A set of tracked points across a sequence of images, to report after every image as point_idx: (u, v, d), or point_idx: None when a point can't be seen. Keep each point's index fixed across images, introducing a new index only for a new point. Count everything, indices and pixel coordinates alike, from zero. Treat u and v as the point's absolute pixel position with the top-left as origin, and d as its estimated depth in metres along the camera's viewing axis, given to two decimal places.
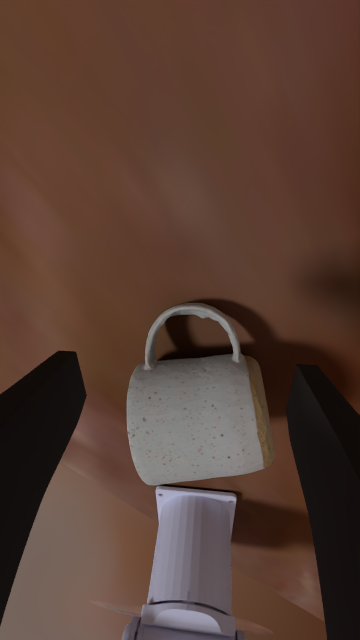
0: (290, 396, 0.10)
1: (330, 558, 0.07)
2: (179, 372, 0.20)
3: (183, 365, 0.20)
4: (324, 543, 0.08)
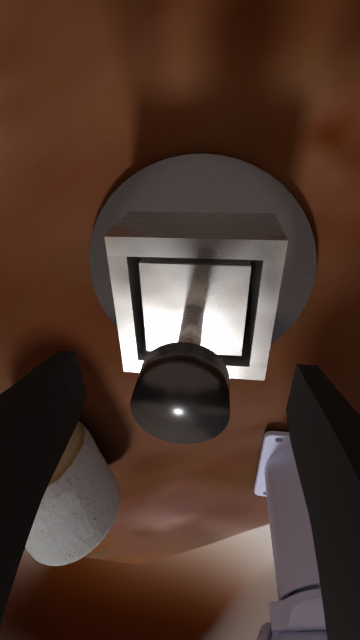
0: (290, 396, 0.10)
1: (330, 558, 0.07)
2: None
3: None
4: (324, 543, 0.08)
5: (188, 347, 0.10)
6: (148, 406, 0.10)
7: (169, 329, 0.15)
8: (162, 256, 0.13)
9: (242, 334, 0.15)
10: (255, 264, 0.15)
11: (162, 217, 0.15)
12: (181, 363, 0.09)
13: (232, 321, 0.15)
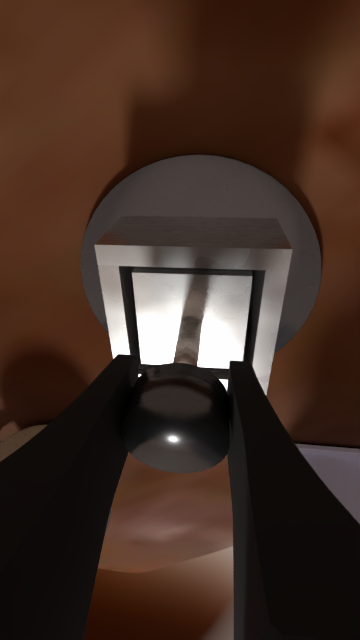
0: (227, 392, 0.11)
1: (237, 548, 0.07)
2: None
3: None
4: (236, 533, 0.08)
5: (184, 369, 0.09)
6: (139, 434, 0.09)
7: (165, 341, 0.14)
8: (157, 265, 0.12)
9: (243, 347, 0.14)
10: (256, 272, 0.14)
11: (157, 222, 0.14)
12: (176, 388, 0.08)
13: (232, 333, 0.14)
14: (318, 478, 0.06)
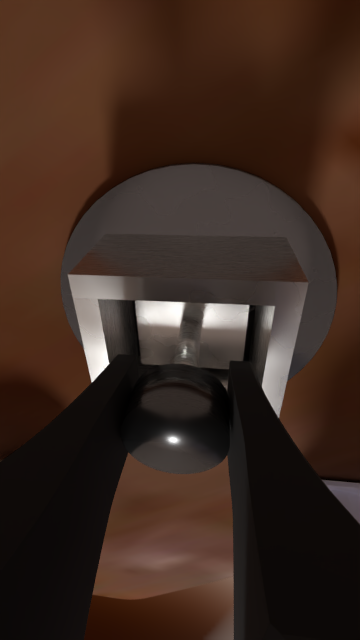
0: (227, 392, 0.11)
1: (237, 547, 0.07)
2: None
3: None
4: (235, 533, 0.08)
5: (184, 370, 0.09)
6: (140, 435, 0.09)
7: (165, 342, 0.14)
8: (143, 299, 0.10)
9: (243, 348, 0.14)
10: None
11: (146, 243, 0.12)
12: (176, 390, 0.08)
13: (232, 334, 0.14)
14: (318, 478, 0.06)
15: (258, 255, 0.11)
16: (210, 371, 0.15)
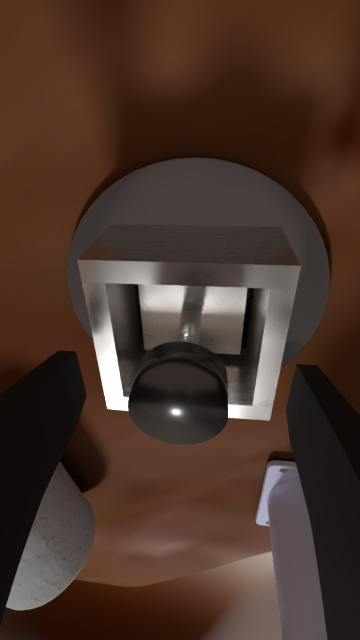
0: (290, 396, 0.10)
1: (330, 558, 0.07)
2: None
3: None
4: (324, 543, 0.08)
5: (186, 347, 0.10)
6: (145, 406, 0.10)
7: (167, 328, 0.15)
8: (148, 283, 0.11)
9: (241, 333, 0.15)
10: (259, 287, 0.13)
11: (150, 232, 0.13)
12: (178, 363, 0.09)
13: (231, 320, 0.14)
14: None
15: (255, 242, 0.11)
16: None
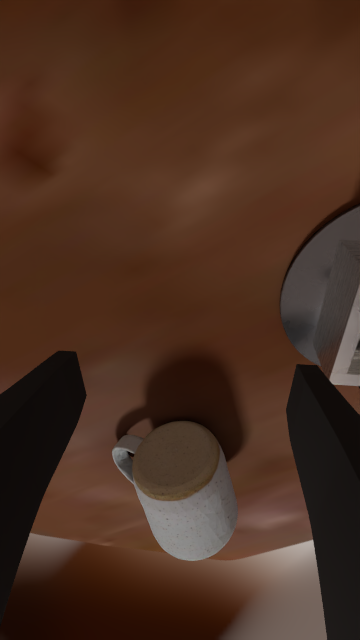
0: (290, 396, 0.10)
1: (330, 558, 0.07)
2: None
3: None
4: (324, 543, 0.08)
5: None
6: None
7: None
8: None
9: None
10: None
11: None
12: None
13: None
14: None
15: None
16: None
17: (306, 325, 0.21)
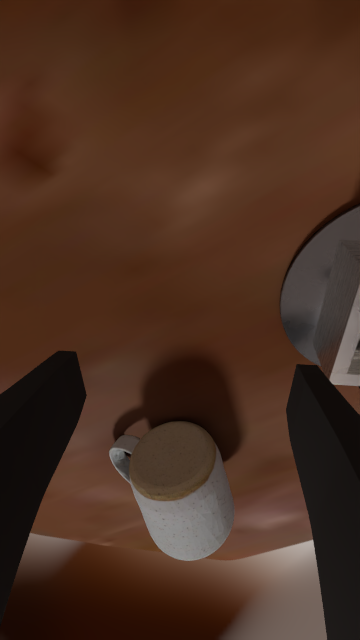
0: (290, 396, 0.10)
1: (330, 558, 0.07)
2: None
3: None
4: (324, 543, 0.08)
5: None
6: None
7: None
8: None
9: None
10: None
11: None
12: None
13: None
14: None
15: None
16: None
17: (306, 325, 0.21)
